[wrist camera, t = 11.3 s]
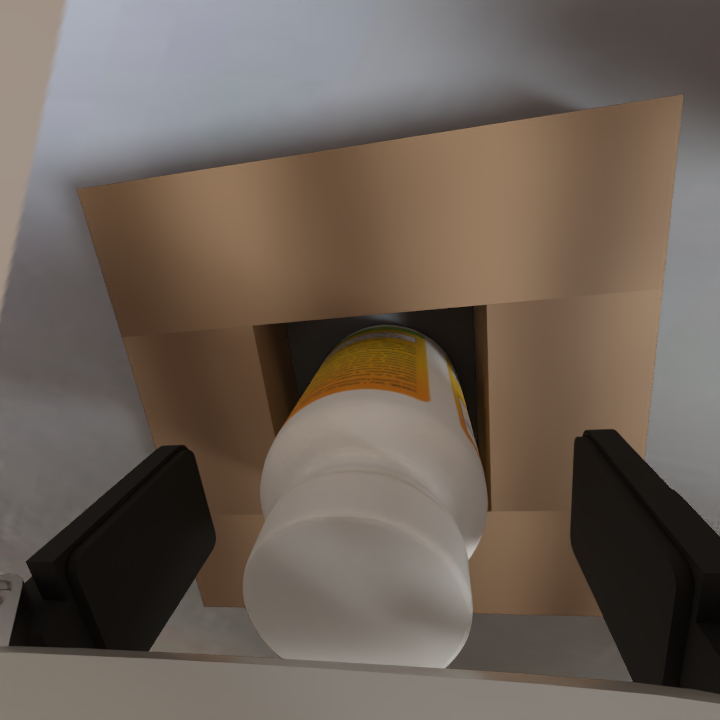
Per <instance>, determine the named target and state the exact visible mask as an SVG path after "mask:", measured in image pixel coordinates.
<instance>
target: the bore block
mask: <svg viewBox="0 0 720 720" xmlns="http://www.w3.org/2000/svg"><path fill="white" fill-rule="evenodd" d="M683 95H684V94H682V95H676V96H669V97H663V98H656V99H650V100H644V101H637V102H631V103H624V104H618V105H612V106H605V107H599V108H593V109H586V110H580V111H573V112H567V113H561V114H554V115H548V116H542V117H535V118H529V119H522V120H516V121H510V122H503V123H497V124H490V125H484V126H478V127H471V128H465V129H459V130H452V131H446V132H439V133H433V134H427V135H420V136H414V137H408V138H401V139H395V140H388V141H382V142H376V143H369V144H363V145H356V146H350V147H344V148H337V149H331V150H325V151H318V152H312V153H305V154H299V155H293V156H286V157H280V158H274V159H267V160H261V161H254V162H248V163H242V164H235V165H229V166H222V167H216V168H210V169H203V170H197V171H191V172H184V173H178V174H171V175H165V176H159V177H152V178H146V179H140V180H133V181H127V182H120V183H114V184H108V185H101V186H95V187H88V188H82V189H77V191H78V195H79V198H80V201H81V205H82V208H83V211H84V214H85V218H86V221H87V224H88V228H89V231H90V234H91V237H92V241H93V244H94V247H95V250H96V254H97V257H98V260H99V264H100V267H101V270H102V273H103V277H104V280H105V283H106V286H107V290H108V293H109V296H110V300H111V303H112V306H113V309H114V313H115V316H116V319H117V322H118V326H119V329H120V332H121V336H122V339H123V342H124V345H125V349H126V352H127V355H128V358H129V362H130V365H131V368H132V372H133V375H134V378H135V381H136V385H137V388H138V391H139V394H140V398H141V401H142V404H143V408H144V411H145V414H146V417H147V421H148V424H149V427H150V430H151V434H152V437H153V440H154V444H155V447H156V449H158V448H159V447H160V446H164V445H185V446H186V447H187V448H188V449H189V450H191V451H192V452H193V453H194V455H195V459H196V462H197V466H198V470H199V473H200V477H201V481H202V484H203V488H204V492H205V496H206V499H207V503H208V507H209V510H210V514H211V518H212V521H213V525H214V529H215V533H216V543H215V547H214V549H213V551H212V552H211V554H210V555H209V557H208V559H207V560H206V562H205V563H204V565H203V566H202V568H201V570H200V571H199V573H198V574H197V576H196V577H195V578H196V581H197V584H198V588H199V591H200V594H201V597H202V601H203V604H204V606H208V607H246V606H245V603H244V597H243V577H244V571H245V567H246V564H247V561H248V558H249V556H250V554H251V552H252V549H253V547H254V545H255V543H256V541H257V538H258V536H259V534H260V532H261V529H262V527H263V525H264V523H265V520H264V516H263V511H262V506H261V500H260V484H261V477H262V471H263V467H264V463H265V460H266V457H267V454H268V452H269V450H270V448H271V446H272V444H273V442H274V439H275V438H276V436H277V434H278V433H279V431H280V430H281V428H282V427H283V425H284V423H285V422H286V420H287V419H288V417H289V415H290V414H291V412H292V411H293V409H294V408H295V406H296V404H297V403H298V401H299V399H298V393H297V388H296V382H295V377H294V371H293V365H292V360H291V354H290V348H289V343H288V337H287V332H286V326H285V323H287V322H298V321H309V320H320V319H331V318H343V317H354V316H365V315H376V314H387V313H398V312H409V311H421V310H432V309H443V308H454V307H465V306H474V335H475V365H476V394H477V424H478V452H479V456H480V459H481V462H482V466H483V470H484V476H485V482H486V487H487V496H488V511H487V519H486V524H485V528H484V531H483V534H482V536H481V539H480V541H479V543H478V545H477V547H476V549H475V551H474V552H473V554H472V556H471V557H470V559H469V560H468V562H469V576H470V584H471V593H472V604H473V613H483V614H522V615H561V616H601V617H603V615H602V613H601V611H600V609H599V607H598V604H597V602H596V600H595V598H594V596H593V594H592V592H591V589H590V587H589V585H588V583H587V581H586V579H585V576H584V574H583V572H582V570H581V568H580V566H579V563H578V561H577V559H576V557H575V555H574V552H573V550H572V546H571V541H570V524H571V501H572V479H573V456H574V440H575V438H576V437H582V435H583V432H584V431H585V430H597V429H614V430H616V431H617V432H618V433H619V434H620V435H621V436H622V437H623V438H624V439H625V440H626V442H627V443H628V444H629V445H630V446H631V447H632V448H633V449H634V450H635V451H636V452H637V453H638V454H639V455H640V456H641V458H642V459H643V460H645V450H646V441H647V432H648V422H649V413H650V404H651V394H652V385H653V376H654V366H655V357H656V348H657V338H658V329H659V320H660V310H661V301H662V292H663V282H664V273H665V264H666V254H667V245H668V236H669V226H670V217H671V208H672V198H673V189H674V179H675V170H676V161H677V151H678V142H679V133H680V123H681V114H682V105H683Z"/></svg>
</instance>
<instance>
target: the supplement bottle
mask: <svg viewBox="0 0 720 720" xmlns="http://www.w3.org/2000/svg"><path fill="white" fill-rule="evenodd" d="M260 500H261V506H262V511H263V516H264V520H265V523H264V525H263V527H262V529H261V532H260V534H259V536H258V538H257V541H256V543H255V545H254V547H253V549H252V552H251V554H250V556H249V558H248V561H247V564H246V567H245V571H244V577H243V597H244V603H245V606H246V610H247V613H248V615H249V618H250V620H251V622H252V624H253V626H254V627H255V629H256V631H257V632H258V633H259V635H260V636H261V637H262V639H263V640H264V641H265V643H266V644H267V645H268V646H269V647H270V648H271V649H272V650H273V651H274V652H275V653H276V654H277V655H279V656H280V657H281V658H282V659H297V660H314V661H332V662H349V663H366V664H382V665H398V666H414V667H430V668H445V667H446V666H448V665H449V664H450V663H451V662H452V661H453V660H454V659H455V658H456V656H457V655H458V654H459V652H460V651H461V650H462V648H463V646H464V645H465V642H466V640H467V638H468V636H469V632H470V629H471V624H472V617H473V604H472V593H471V584H470V576H469V562H468V560H469V559H470V557H471V556H472V554H473V552H474V551H475V549H476V547H477V545H478V543H479V541H480V539H481V536H482V534H483V531H484V528H485V524H486V519H487V511H488V496H487V487H486V482H485V476H484V470H483V466H482V462H481V459H480V456H479V452H478V448H477V445H476V441H475V438H474V434H473V430H472V427H471V423H470V419H469V416H468V412H467V408H466V404H465V400H464V396H463V393H462V389H461V385H460V382H459V378H458V376H457V373H456V371H455V368H454V366H453V364H452V362H451V360H450V359H449V357H448V356H447V354H446V353H445V352H444V350H443V349H442V348H441V347H440V346H439V345H438V344H437V343H436V342H435V341H433V340H432V339H431V338H429V337H428V336H426V335H424V334H422V333H420V332H418V331H416V330H413V329H410V328H407V327H402V326H397V325H376V326H371V327H366V328H363V329H361V330H358V331H356V332H354V333H352V334H351V335H349V336H347V337H346V338H344V339H343V340H342V341H341V342H339V343H338V344H337V345H336V346H335V347H334V348H333V350H332V351H331V352H330V353H329V355H328V356H327V357H326V359H325V360H324V362H323V363H322V365H321V366H320V368H319V370H318V371H317V373H316V374H315V376H314V378H313V379H312V381H311V382H310V384H309V386H308V387H307V389H306V390H305V392H304V393H303V395H302V396H301V398H300V399H299V401H298V403H297V404H296V406H295V408H294V409H293V411H292V412H291V414H290V415H289V417H288V419H287V420H286V422H285V423H284V425H283V427H282V428H281V430H280V431H279V433H278V434H277V436H276V438H275V439H274V442H273V444H272V446H271V448H270V450H269V452H268V454H267V457H266V460H265V463H264V467H263V471H262V477H261V484H260Z"/></svg>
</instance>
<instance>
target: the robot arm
mask: <svg viewBox="0 0 720 720" xmlns="http://www.w3.org/2000/svg"><path fill="white" fill-rule="evenodd" d="M570 541H571V546H572V550H573V552H574V555H575V557H576V559H577V561H578V563H579V566H580V568H581V570H582V572H583V574H584V576H585V579H586V581H587V583H588V585H589V587H590V589H591V592H592V594H593V596H594V598H595V600H596V602H597V604H598V607H599V609H600V611H601V613H602V615H603V617H604V620H605V622H606V624H607V626H608V628H609V630H610V633H611V635H612V637H613V639H614V641H615V643H616V645H617V648H618V650H619V652H620V654H621V656H622V658H623V661H624V663H625V665H626V667H627V669H628V671H629V674H630V676H631V678H632V680H633V682H624V681H611V680H599V679H587V678H574V677H562V676H549V675H537V674H525V673H509V672H493V671H478V670H462V669H446V668H430V667H414V666H398V665H382V664H366V663H349V662H332V661H314V660H297V659H280V658H262V657H244V656H226V655H207V654H188V653H168V652H149V650H150V648H151V647H152V645H153V644H154V642H155V640H156V639H157V637H158V636H159V634H160V633H161V631H162V629H163V628H164V626H165V625H166V623H167V622H168V620H169V618H170V617H171V615H172V614H173V612H174V611H175V609H176V607H177V606H178V604H179V603H180V601H181V600H182V598H183V596H184V595H185V593H186V592H187V590H188V588H189V587H190V585H191V584H192V582H193V581H194V579H195V577H196V576H197V574H198V573H199V571H200V570H201V568H202V566H203V565H204V563H205V562H206V560H207V559H208V557H209V555H210V554H211V552H212V551H213V549H214V547H215V543H216V533H215V529H214V525H213V521H212V518H211V514H210V510H209V507H208V503H207V499H206V496H205V492H204V488H203V484H202V481H201V477H200V473H199V470H198V466H197V462H196V459H195V455H194V453H193V452H192V451H191V450H189V449H188V448H187V447H186V446H185V445H164V446H160V447H159V448H158V449H156V450H155V451H154V452H153V453H152V454H151V455H149V456H148V457H147V458H146V459H145V460H144V461H142V462H141V463H140V464H139V465H138V466H137V467H135V468H134V469H133V470H132V471H131V472H130V473H128V474H127V475H126V476H125V477H124V478H123V479H121V480H120V481H119V482H118V483H117V484H116V485H114V486H113V487H112V488H111V489H110V490H109V491H107V492H106V493H105V494H104V495H103V496H102V497H100V498H99V499H98V500H97V501H96V502H95V503H93V504H92V505H91V506H90V507H89V508H88V509H86V510H85V511H84V512H83V513H82V514H81V515H80V516H78V517H77V518H76V519H75V520H74V521H73V522H71V523H70V524H69V525H68V526H67V527H66V528H64V529H63V530H62V531H61V532H60V533H59V534H57V535H56V536H55V537H54V538H53V539H52V540H50V541H49V542H48V543H47V544H46V545H45V546H43V547H42V548H41V549H40V550H39V551H38V552H36V553H35V554H34V555H33V556H32V557H31V558H29V559H28V560H27V561H26V563H27V565H28V568H29V570H30V572H31V574H32V577H31V578H30V579H29V580H28V581H27V582H26V583H24V581H23V579H22V578H21V577H20V576H19V575H17V574H10V573H8V574H1V575H0V720H720V537H719V535H718V534H717V533H716V532H715V531H714V530H713V529H712V528H711V527H710V526H709V525H708V524H707V523H706V522H705V521H704V520H703V519H702V518H701V517H700V516H699V514H698V513H697V512H696V511H695V510H694V509H693V508H692V507H691V506H690V505H689V504H688V503H687V502H686V501H685V500H684V499H683V498H682V497H681V496H680V495H679V494H678V493H677V492H676V491H674V490H672V489H671V488H670V487H669V486H668V485H667V484H666V483H665V482H664V481H663V480H662V479H661V478H660V477H659V476H658V475H657V473H656V472H655V471H654V470H653V469H652V468H651V467H650V466H649V465H648V464H647V463H646V462H645V461H644V460H643V459H642V458H641V456H640V455H639V454H638V453H637V452H636V451H635V450H634V449H633V448H632V447H631V446H630V445H629V444H628V443H627V442H626V440H625V439H624V438H623V437H622V436H621V435H620V434H619V433H618V432H617V431H616V430H614V429H597V430H585V431H584V432H583V435H582V437H576V438H575V440H574V456H573V479H572V501H571V524H570Z"/></svg>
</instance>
